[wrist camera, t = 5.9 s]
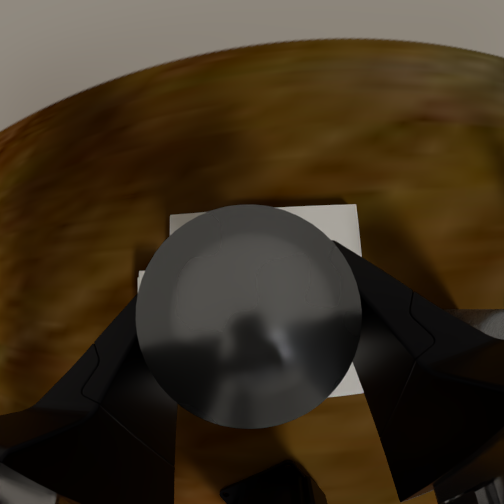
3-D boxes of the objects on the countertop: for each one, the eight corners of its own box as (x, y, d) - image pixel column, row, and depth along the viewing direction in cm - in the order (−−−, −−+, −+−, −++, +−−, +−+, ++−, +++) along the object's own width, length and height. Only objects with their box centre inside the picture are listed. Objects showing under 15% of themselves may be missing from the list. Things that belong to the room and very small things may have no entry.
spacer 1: (249, 370, 15) (212, 461, 5) (203, 296, 16) (101, 281, 6) (324, 323, 15) (401, 347, 6) (276, 250, 16) (279, 164, 6)
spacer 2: (437, 376, 20) (517, 410, 10) (413, 332, 21) (495, 348, 11) (475, 341, 20) (560, 353, 10) (453, 297, 21) (541, 291, 11)
